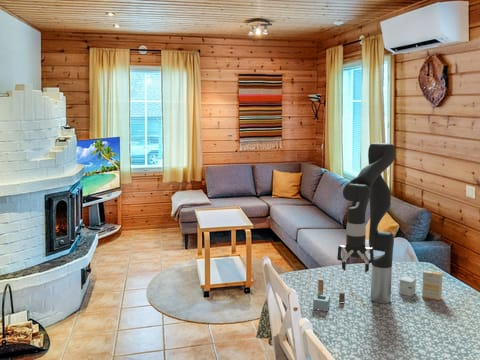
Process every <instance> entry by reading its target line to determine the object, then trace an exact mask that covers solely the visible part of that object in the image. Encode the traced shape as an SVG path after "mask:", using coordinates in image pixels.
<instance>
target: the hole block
mask: <svg viewBox="0 0 480 360" xmlns="http://www.w3.org/2000/svg"><path fill="white" fill-rule="evenodd" d="M330 298H331V296H330V295H326V294H323V295H320V294H318V293H316V294H314V297H313V299H312V310H313V309H319V310H325V311H329V309H330V307H329V305H331V304H330V303H331V301H330V300H331V299H330ZM328 308H329V309H328Z"/></svg>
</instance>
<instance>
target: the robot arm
mask: <svg viewBox="0 0 480 360" xmlns="http://www.w3.org/2000/svg"><path fill="white" fill-rule="evenodd" d="M396 149H397V148H396V145H394V144H392V143H387V142H372V143H370V144H369V146H368V151H367V157H368V159H367V160H368V161H367V162H368V165H366V166H365V167H362V169H361V171H360V172H359V173H358V175H357V176H355V178H353V179H351V180H350V181H348V182H347V183H346V184H345V186H344V187H343V189H342V195H343V198H344V199H345V201H348V202H355V203H359V204H358V205H356V206H350V207H348V208H347V214H346V217H347V219H346V221H347V222H346V230H345V231H346V234H345V235H346V237H345V238H346V239H345V242H346V243H345V245H342V244H339V245H338V247H337V260H338V261H341V269H342V270H343V271H346V269H347V260H348V259H349V257H351V258H358V259H359V258H361V259H362V260H363V262H364V263H365V264H364V266H365V267H364V273H368V272H369V270H370V264H371V274H370V275H371V276H370V278H371V279H370V300H371V301H372V302H375V303H376V304H377V303H378V304H388V303H391V300H392V294H391V293H392V279H393V277H392V276H393V275H392V274H393V272H392V271H393V255H394V254H393V253H394V246H395V245H394V244H395V235H394V234H393V232H387V231H381V230H378V228H379V224H380V223H381V220H382V219H383V218H384V217H385V215H386V214H387V213H388V211H389V209H390V207H391V203H392V200H391V199H392V192H391V189H390V187H389V186H388V184H387V182H386V181H385V179H384V178H383V176H382V174H383V172H385V171H386V170H387V169H388V168H389V167H390V166H391V165H392V163H393V162H394V161H395V159H396V155H397V151H396ZM393 164H394V163H393ZM368 204H369V231H368V232H369V233H368V247H367V246H366V234H367V233H366V232H367V230H366V229H367V228H366V212H367V207H368ZM344 250H345V252H346V253H345V255H344V256H342V252H343V251H344ZM375 251H377V252H384V254H382V255H377V256H374V254H375V253H374V252H375ZM366 252H368V254H369V258H368V257H367V255H366Z"/></svg>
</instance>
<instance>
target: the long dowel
mask: <svg viewBox="0 0 480 360" xmlns="http://www.w3.org/2000/svg"><path fill="white" fill-rule="evenodd" d="M317 282H318V283H317V284H318V285H317V294H320V295H324V279H323V278H318V281H317Z"/></svg>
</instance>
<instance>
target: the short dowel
mask: <svg viewBox="0 0 480 360" xmlns="http://www.w3.org/2000/svg"><path fill="white" fill-rule="evenodd" d="M345 294H346V293H345V292H342V291H341V292H339V294H338V295H339V296H338V297H339V299H338V300H339V301H338V303H339V302H344V303H345Z"/></svg>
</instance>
